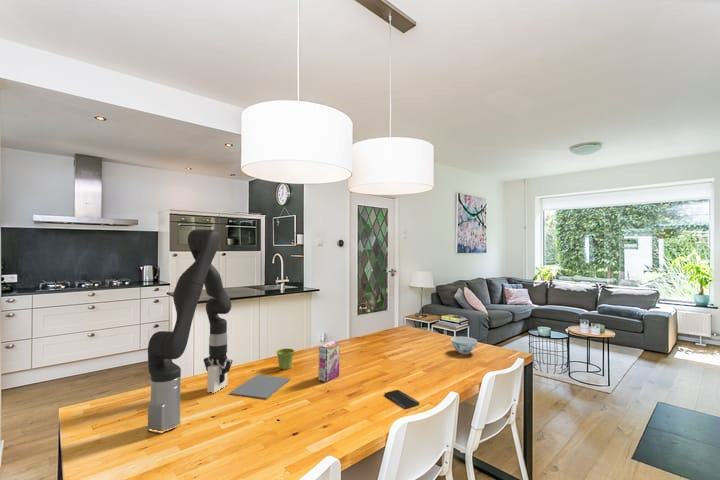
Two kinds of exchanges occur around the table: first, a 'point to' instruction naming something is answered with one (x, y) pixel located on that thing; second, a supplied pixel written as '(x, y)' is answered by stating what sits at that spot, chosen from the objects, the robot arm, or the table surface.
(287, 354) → the plant pot
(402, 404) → the phone
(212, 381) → the cream block
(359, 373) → the table surface
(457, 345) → the chinaware
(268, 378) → the slate mat
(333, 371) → the candy bar box
